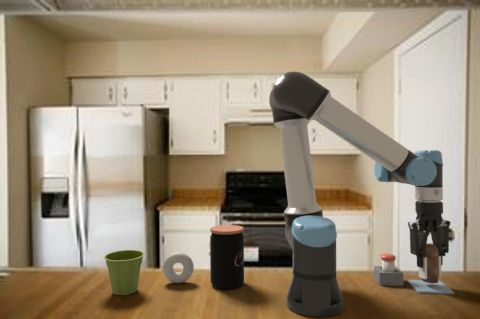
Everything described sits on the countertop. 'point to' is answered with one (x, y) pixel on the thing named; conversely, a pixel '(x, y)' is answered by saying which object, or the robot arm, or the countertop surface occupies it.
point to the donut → (178, 276)
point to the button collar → (388, 277)
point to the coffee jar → (227, 256)
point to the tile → (430, 287)
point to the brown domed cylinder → (431, 263)
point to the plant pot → (124, 270)
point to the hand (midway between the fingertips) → (429, 276)
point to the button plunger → (388, 262)
